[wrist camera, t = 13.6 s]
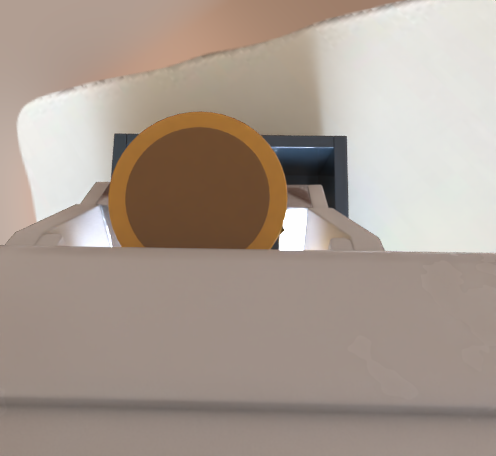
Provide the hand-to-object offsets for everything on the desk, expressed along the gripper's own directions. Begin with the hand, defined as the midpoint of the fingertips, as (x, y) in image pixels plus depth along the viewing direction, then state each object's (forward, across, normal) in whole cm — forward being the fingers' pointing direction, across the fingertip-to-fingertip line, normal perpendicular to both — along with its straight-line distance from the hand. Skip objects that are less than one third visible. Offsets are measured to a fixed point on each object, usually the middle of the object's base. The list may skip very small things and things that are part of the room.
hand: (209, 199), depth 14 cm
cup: (+3, 0, +4) cm, 5 cm away
